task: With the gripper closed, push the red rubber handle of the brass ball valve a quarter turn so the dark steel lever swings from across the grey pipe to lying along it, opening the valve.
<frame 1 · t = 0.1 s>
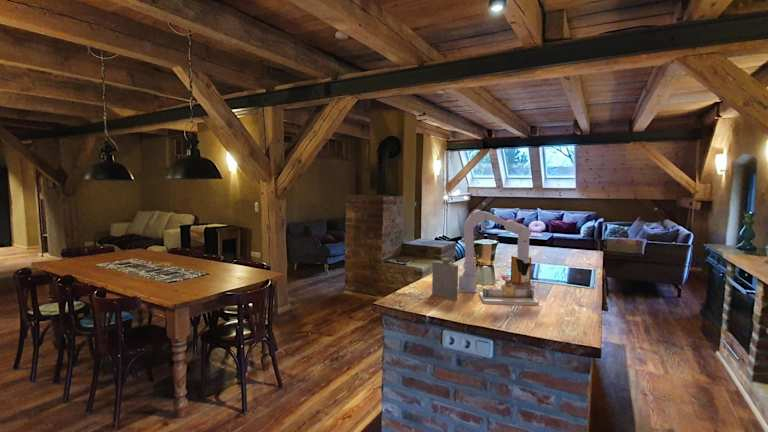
hand: (522, 273, 206), 10 cm above the countertop, tool pointing down, fingers open, 7 cm apart
ball valve: (507, 299, 193), resting on mounting board
mounting board: (507, 299, 193), on the countertop
hip flask: (445, 297, 198), on the countertop
valve lever: (506, 279, 197), point 9 cm above the countertop, hinge at 0.0°
baking soda box: (520, 282, 227), on the countertop
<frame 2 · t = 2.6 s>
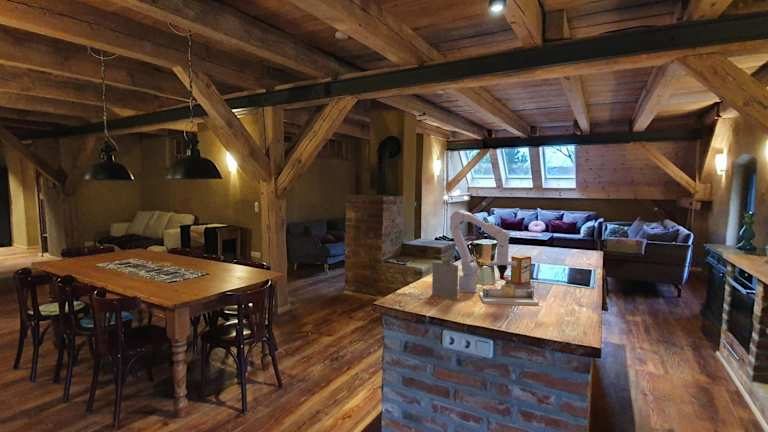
hand: (501, 279, 200), 8 cm above the countertop, tool pointing down, fingers closed, pressing on valve lever
valve lever: (506, 279, 197), point 9 cm above the countertop, hinge at 1.7°, touching gripper
everything else where it was.
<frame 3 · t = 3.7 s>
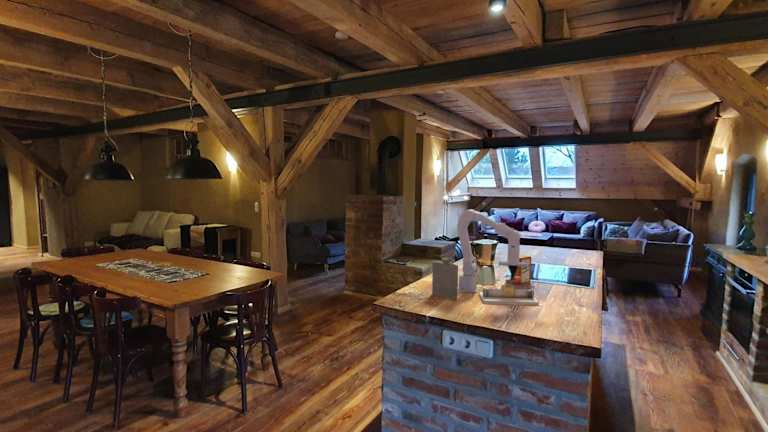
hand: (512, 279, 200), 8 cm above the countertop, tool pointing down, fingers closed, pressing on valve lever
valve lever: (513, 279, 196), point 9 cm above the countertop, hinge at 42.1°, touching gripper
everything else where it was.
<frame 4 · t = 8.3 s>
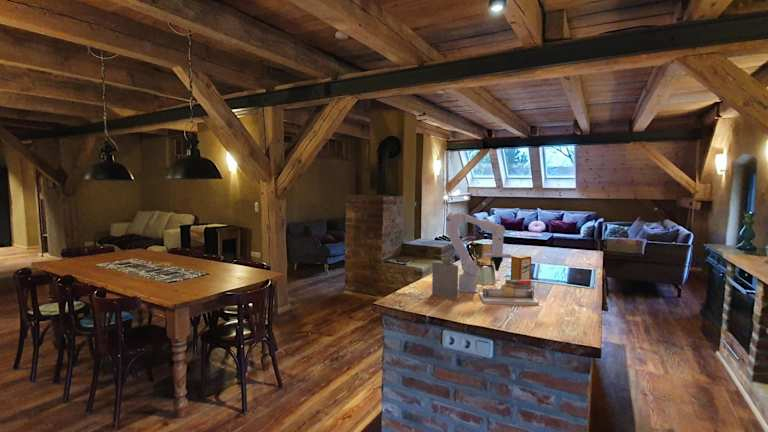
hand: (496, 270, 211), 10 cm above the countertop, tool pointing down, fingers closed
valve lever: (518, 281, 192), point 9 cm above the countertop, hinge at 87.2°
everything else where it was.
at the end: valve lever at +87° (first picture: +0°) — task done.
